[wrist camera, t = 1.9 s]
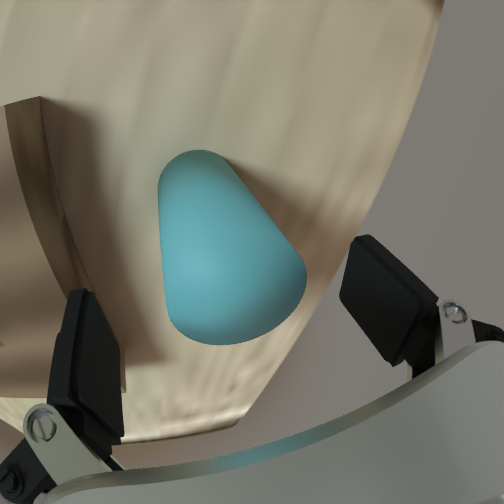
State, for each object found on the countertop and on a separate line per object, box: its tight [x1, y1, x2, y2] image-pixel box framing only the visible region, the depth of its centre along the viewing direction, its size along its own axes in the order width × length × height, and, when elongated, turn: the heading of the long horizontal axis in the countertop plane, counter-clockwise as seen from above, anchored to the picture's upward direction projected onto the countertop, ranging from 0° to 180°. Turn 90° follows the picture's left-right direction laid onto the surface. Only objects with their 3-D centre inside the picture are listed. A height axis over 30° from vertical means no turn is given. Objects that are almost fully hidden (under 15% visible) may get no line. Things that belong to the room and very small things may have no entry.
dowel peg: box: [158, 150, 307, 345], centre depth 12 cm, size 4×4×9 cm
